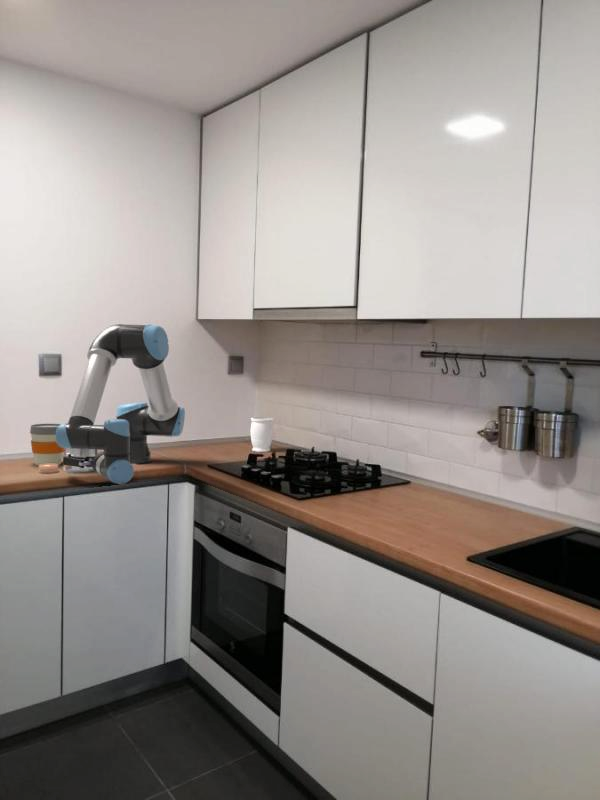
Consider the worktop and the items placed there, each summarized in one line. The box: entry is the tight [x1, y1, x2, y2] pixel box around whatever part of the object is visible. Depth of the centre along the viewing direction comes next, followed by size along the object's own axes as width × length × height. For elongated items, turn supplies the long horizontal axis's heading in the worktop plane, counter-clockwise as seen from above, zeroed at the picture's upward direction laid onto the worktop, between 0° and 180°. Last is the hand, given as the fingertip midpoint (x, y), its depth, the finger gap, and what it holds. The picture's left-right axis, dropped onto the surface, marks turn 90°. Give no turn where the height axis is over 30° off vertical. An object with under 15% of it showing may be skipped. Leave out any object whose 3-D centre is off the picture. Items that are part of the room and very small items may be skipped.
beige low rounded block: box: [38, 463, 59, 474], centre depth 223 cm, size 6×6×3 cm
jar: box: [250, 416, 274, 453], centre depth 288 cm, size 11×10×15 cm
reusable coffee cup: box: [29, 423, 63, 467], centre depth 237 cm, size 12×13×15 cm
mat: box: [59, 466, 96, 475], centre depth 229 cm, size 11×14×1 cm
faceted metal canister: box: [62, 448, 98, 473], centre depth 229 cm, size 11×11×13 cm
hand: (87, 455), depth 221 cm, fingers open, 13 cm apart
